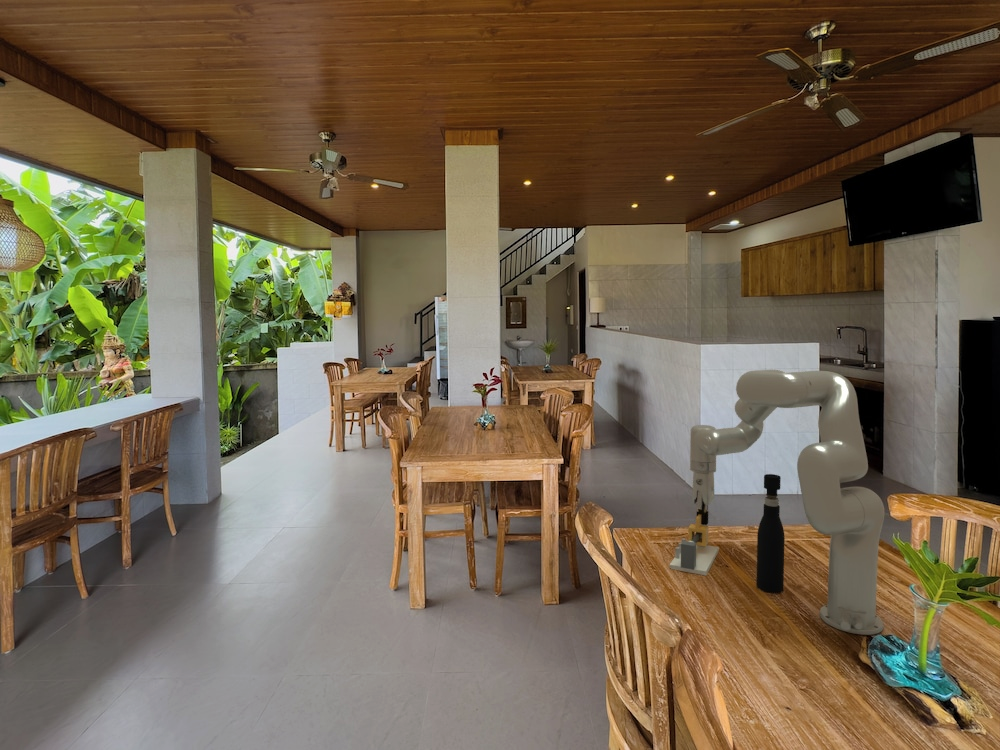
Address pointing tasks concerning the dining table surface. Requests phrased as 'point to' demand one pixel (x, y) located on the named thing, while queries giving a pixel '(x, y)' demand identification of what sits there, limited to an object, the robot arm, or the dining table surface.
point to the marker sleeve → (700, 529)
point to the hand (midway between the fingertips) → (702, 523)
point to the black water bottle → (770, 541)
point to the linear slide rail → (694, 556)
